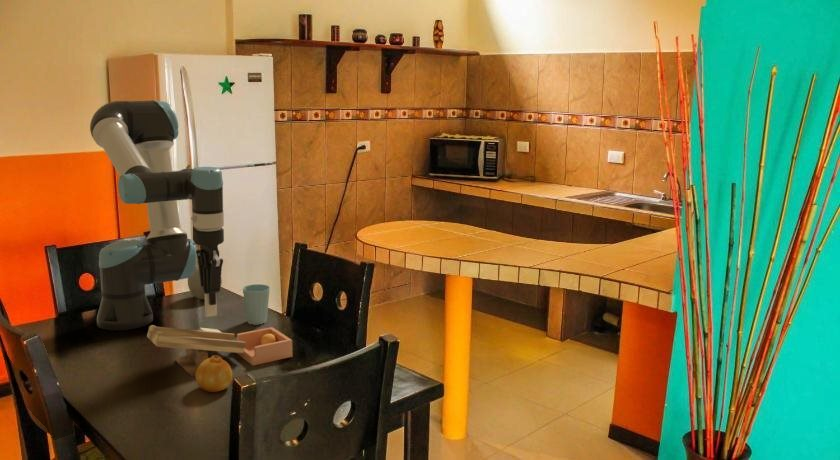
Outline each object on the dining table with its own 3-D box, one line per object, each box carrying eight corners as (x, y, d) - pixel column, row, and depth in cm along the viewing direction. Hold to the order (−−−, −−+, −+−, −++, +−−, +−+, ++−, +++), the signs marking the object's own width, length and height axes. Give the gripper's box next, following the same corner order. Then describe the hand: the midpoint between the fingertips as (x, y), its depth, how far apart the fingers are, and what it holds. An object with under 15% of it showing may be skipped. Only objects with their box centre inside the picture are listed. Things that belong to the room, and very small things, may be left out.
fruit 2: (244, 374, 173) (226, 346, 172) (228, 391, 166) (209, 361, 165) (218, 387, 176) (200, 359, 175) (201, 404, 169) (182, 375, 168)
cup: (273, 324, 216) (272, 289, 214) (246, 327, 213) (245, 292, 210) (267, 316, 222) (266, 283, 220) (241, 319, 219) (240, 285, 217)
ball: (267, 328, 196) (274, 339, 198) (255, 338, 195) (263, 349, 197) (274, 333, 193) (281, 344, 195) (262, 342, 192) (269, 353, 193)
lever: (136, 326, 187) (139, 314, 187) (218, 333, 200) (220, 322, 200) (156, 346, 173) (160, 333, 173) (243, 352, 187) (246, 340, 187)
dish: (233, 350, 194) (233, 334, 194) (272, 342, 201) (272, 327, 200) (252, 365, 185) (252, 348, 184) (292, 356, 191) (292, 340, 190)
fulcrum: (175, 360, 187) (174, 342, 186) (202, 355, 191) (202, 337, 190) (191, 376, 178) (191, 357, 177) (220, 370, 182) (219, 351, 181)
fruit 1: (228, 294, 244) (227, 249, 241) (213, 304, 233) (211, 258, 230) (199, 291, 246) (197, 247, 243) (182, 301, 235) (180, 255, 232)
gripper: (185, 224, 193) (188, 310, 198) (203, 234, 182) (206, 325, 188) (213, 221, 197) (215, 306, 202) (232, 231, 187) (234, 320, 192)
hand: (211, 315), depth 195 cm, fingers closed
